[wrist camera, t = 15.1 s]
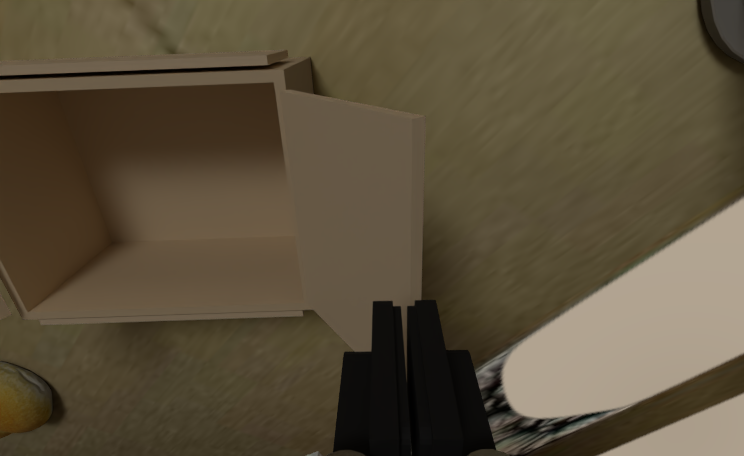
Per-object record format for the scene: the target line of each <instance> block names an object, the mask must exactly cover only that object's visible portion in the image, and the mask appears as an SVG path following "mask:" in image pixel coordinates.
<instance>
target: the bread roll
mask: <svg viewBox="0 0 744 456" xmlns="http://www.w3.org/2000/svg"><path fill="white" fill-rule="evenodd" d="M52 407H53V406H52V393H51V389H50V388H49V386H48V385H47V384H46V383H45V382H44V381H43V380H42V379H41V378H40V377H38V376H37V375H35V374H34V373H32V372H30V371H28V370H25V369H23V368H21V367H18V366H16V365H13V364H10V363H6V362H1V361H0V438H3V437H5V436H8V435H10V434H11V433H22V432H28V431H32V430H34V429H36V428H38V427H40V426H42V425H43V424H44V423H45V422H46V421H47V420H48V419H49V418H50V416H51V414H52Z"/></svg>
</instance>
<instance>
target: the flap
mask: <svg viewBox="0 0 744 456" xmlns="http://www.w3.org/2000/svg"><path fill="white" fill-rule="evenodd" d="M280 95H281V103H282V111H283V118H284V126H285V133H286V141H287V149H288V156H289V164H290V171H291V179H292V186H293V194H294V202H295V209H296V217H297V224H298V232H299V239H300V247H301V255H302V262H303V270H304V277H305V285H306V293H307V300H308V305H309V306H310V307H311V308H312V309H313V310H314V311H315V312H316V313H317V314H318V315H319V316H320V317H321V318H322V319H323V320H324V321H325V322H326V323H327V324H328V325H329V326H330V327H331V328H332V329H333V330H334V331H335V332H336V333H337V334H338V335H339V336H340V337H341V338H342V339H343V340H344V341H345V342H346V343H347V344H348V345H349V346H350V347H351V348H352V349H353V350H354V351H355V352H367V351H371V348H372V309H373V301H393V306H401V314H402V327H403V340H404V354H405V367H406V380H407V306H414V305H415V300H421V293H422V250H423V208H424V165H425V123H426V116H422V115H417V114H412V113H407V112H402V111H396V110H391V109H386V108H381V107H376V106H371V105H366V104H361V103H356V102H351V101H346V100H341V99H335V98H330V97H325V96H320V95H315V94H310V93H305V92H300V91H295V90H283V91H280Z"/></svg>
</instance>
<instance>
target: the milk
mask: <svg viewBox="0 0 744 456" xmlns="http://www.w3.org/2000/svg"><path fill="white" fill-rule="evenodd" d="M306 456H322V455H321V454H320V453H319V452H318V451H317V452H314V453H312V454H309V455H306Z"/></svg>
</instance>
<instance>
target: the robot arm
mask: <svg viewBox="0 0 744 456" xmlns="http://www.w3.org/2000/svg"><path fill="white" fill-rule="evenodd" d="M701 11H702V15H703V18H704V21H705V25H706V28H707V31H708V32H709V34H710V36H711V37H712V39H713V40H714V42H715V44H716V45H717V46H718V47H719V48H720V49H721V50H722V51H723V52H725V53H726V54H727V55H728V56H730V57H732V58H733V59H735V60H737V61H739V62H741V63H744V0H701ZM410 436H411V440H410ZM411 449H412V456H510V455H508V454H506V453H504V452H501V451H497V450H496V448H495V444H494V440H493V437H492V433H491V429H490V426H489V422H488V418H487V415H486V411H485V407H484V404H483V400H482V396H481V393H480V389H479V385H478V382H477V378H476V374H475V371H474V367H473V363H472V360H471V356H470V353H469V351H468V350H446V348H445V343H444V339H443V334H442V329H441V324H440V319H439V314H438V309H437V304H436V300H415V305H414V306H407V380H406V367H405V354H404V340H403V327H402V314H401V306H393V301H373V309H372V348H371V351H367V352H344V357H343V366H342V375H341V384H340V393H339V402H338V412H337V421H336V430H335V439H334V448H333V453H330V454H328V455H327V456H411Z"/></svg>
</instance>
